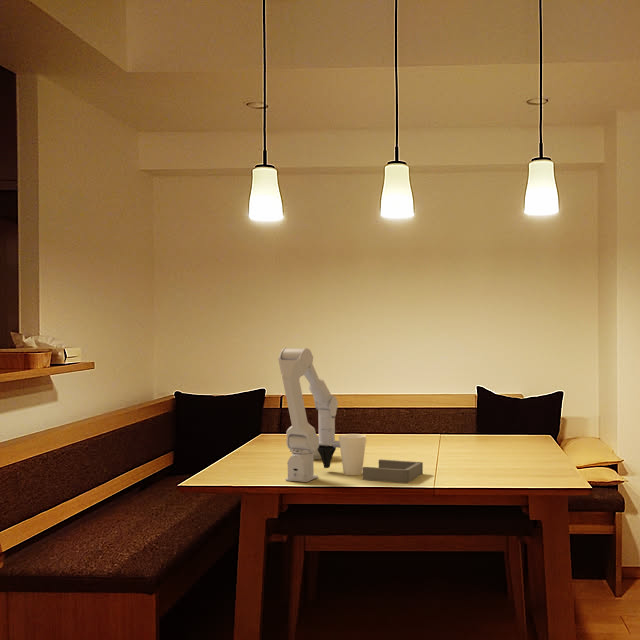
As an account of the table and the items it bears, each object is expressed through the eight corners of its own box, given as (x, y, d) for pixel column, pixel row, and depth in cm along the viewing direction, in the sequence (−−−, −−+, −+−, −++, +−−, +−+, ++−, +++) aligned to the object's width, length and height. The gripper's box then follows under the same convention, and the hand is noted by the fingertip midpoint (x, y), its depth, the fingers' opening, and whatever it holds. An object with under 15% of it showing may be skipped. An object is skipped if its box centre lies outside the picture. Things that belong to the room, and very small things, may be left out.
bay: (407, 482, 268) (407, 470, 268) (362, 479, 275) (362, 467, 275) (422, 473, 284) (422, 462, 284) (380, 470, 290) (380, 459, 290)
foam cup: (353, 470, 292) (353, 433, 292) (371, 473, 285) (371, 436, 285) (333, 473, 285) (333, 436, 285) (352, 477, 279) (351, 438, 279)
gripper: (350, 428, 290) (350, 467, 290) (312, 426, 296) (312, 464, 296) (342, 430, 283) (342, 470, 283) (304, 428, 289) (304, 467, 289)
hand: (326, 467), depth 289 cm, fingers closed
